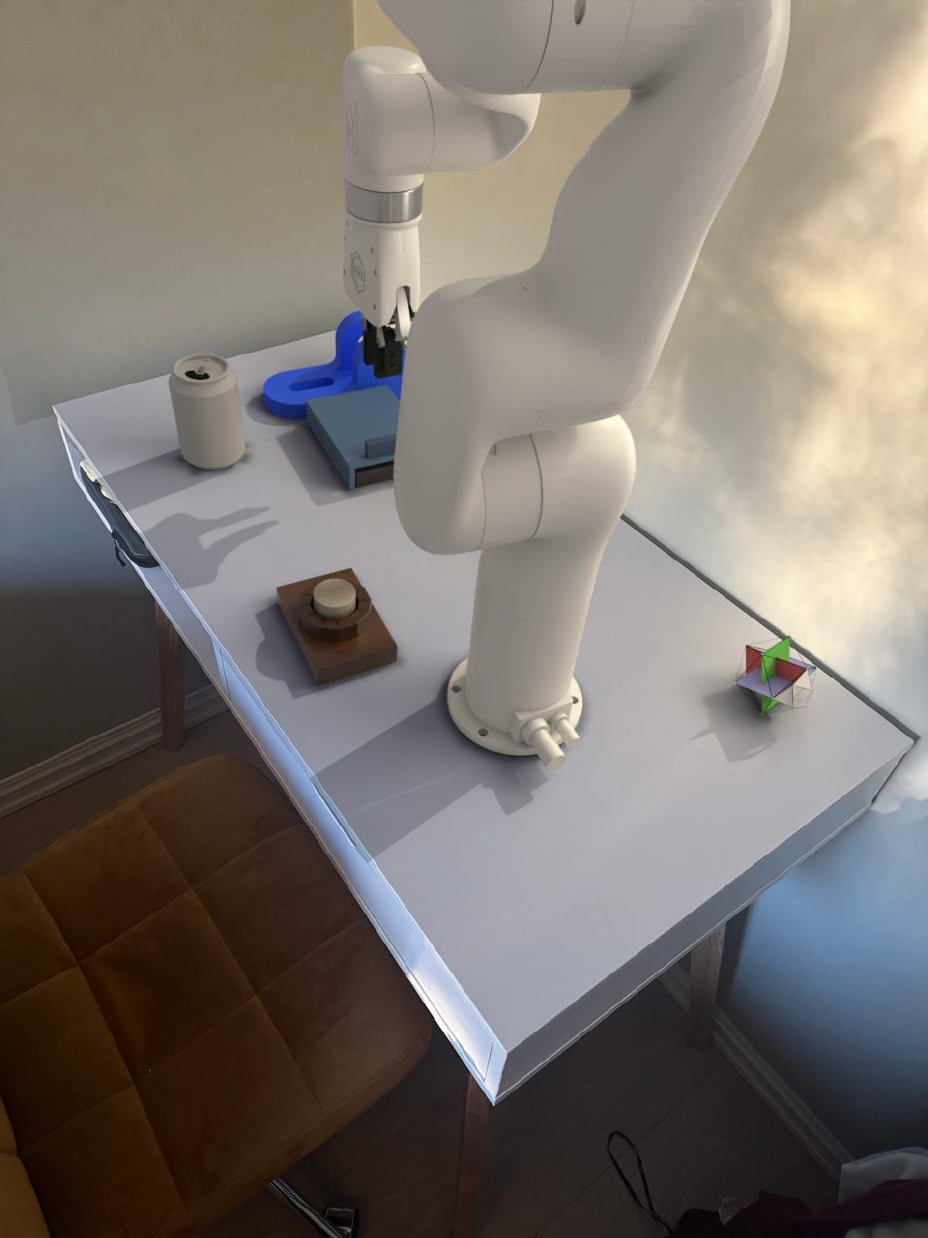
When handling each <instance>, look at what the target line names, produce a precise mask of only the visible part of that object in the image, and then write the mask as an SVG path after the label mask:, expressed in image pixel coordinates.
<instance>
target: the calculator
mask: <svg viewBox="0 0 928 1238" xmlns="http://www.w3.org/2000/svg"><path fill="white" fill-rule="evenodd" d="M393 477H394V460H393V461H389V462H384V463H380V464H375V465H371V466H366V467H362V468H357V469H355V488H361V487H364V486H370V485H374V484H378V483H381V482H386V481H391V480H393Z"/></svg>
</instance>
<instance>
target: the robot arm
mask: <svg viewBox="0 0 928 1238" xmlns="http://www.w3.org/2000/svg"><path fill="white" fill-rule="evenodd" d="M791 1H792V0H376V2H377V4H378V5H379V7H380V9H381V10H382V12H383V13H384V14H385V16H386V18H388V19H389V20H390V21H391V23H392V24H393V26H395V28H396V29H397V30H398V31H399V32H400V33H401V34H402V35H403V36H404V37H405V38H406V39H407V40H408V41H409V42H410V43H411V44H412V45H413V46H414V47H415V48H416V49H417V52H418V54H416V53H414V52H413V51H411V50H408V49H405V48H401V47H397V46H391V45H390V46H389V45H367V46H363V47H359V48H356V49H354V50H352V51H351V52H349V53H348V54H347V55H346V57H345V59H344V62H343V66H342V109H343V110H342V115H343V116H342V118H343V119H342V120H343V167H344V170H343V171H344V173H343V174H344V212H345V221H344V222H345V223H344V236H343V237H344V239H343V270H342V271H343V274H342V275H343V281H342V282H343V289H344V292H345V293H346V295H347V297H348V298H349V299H350V301H351V302H352V303H353V305H354V306H355V308H357V309H358V311H360V312H361V313H362V326H363V328H364V329H367V330H363V336H362V340H363V362H364V363H365V365H373V364H374V376H375V377H376V378H377V379H380V378H385V377H391V376H396V375H400V374H401V373H402V359H403V347H404V344H405V342H406V346H405V350H406V352H405V360H404V370H403V379H402V389H401V398H400V408H399V418H398V427H397V437H396V446H395V458H394V477H393V479H392V480H393V496H394V503H395V504H394V505H395V509H396V513H397V517H398V520H399V522H400V525H401V527H402V529H403V531H404V533H405V535H406V536H407V538H408V539H409V540H410V541H411V542H412V544H414V546H416V547H418V548H419V549H420V550H422V551H424V552H426V553H429V554H433V555H437V556H453V555H460V554H466V553H472V552H477V551H480V554H479V560H478V565H477V573H476V581H475V588H474V597H473V598H474V600H473V608H472V618H471V625H470V626H471V627H470V636H469V646H468V654H467V657H466V658H465V659H463V660H462V661H461V662H460V663H459V664H458V665H457V666H456V668H455V669H454V670H453V672H452V673H451V676H450V678H449V681H448V685H447V691H446V692H447V694H446V703H447V708H448V712H449V715H450V717H451V719H452V721H453V723H454V725H456V727H457V728H458V730H459V731H460V732H461V733H463V735H465V737H467V738H468V739H469V740H470V741H472V742H474V743H475V744H477V745H478V746H480V747H482V748H484V749H487V750H489V751H492V752H495V753H499V754H502V755H507V756H509V755H510V756H517V757H519V756H520V757H521V756H533V755H537V756H538V757H539V759H540V760H541V762H542V763H543V765H544V767H545V768H546V769H547V771H554V770H557V769H559V768H561V767H562V766H563V765H564V764H565V763H566V760H567V756H566V755H565V753H564V752H563V750H562V749H561V747H560V745H561V744H563V743H564V745H565V746H566V747H567V748H568V749H570V750H571V749H574V748H576V747H577V746H579V745H580V743H581V742H582V739H581V736H580V735H579V734H578V732H576V728H577V726H578V725H579V722H580V719H581V715H582V710H583V697H582V696H583V695H582V692H581V689H580V686H579V684H578V682H577V680H576V678H575V677H574V676H573V675H574V671H575V667H576V664H577V663H576V662H577V659H578V655H579V651H580V647H581V642H582V637H583V633H584V629H585V626H586V621H587V618H588V617H587V616H588V613H589V608H590V604H591V600H592V596H593V593H594V589H595V584H596V580H597V577H598V572H599V569H600V566H601V562H602V559H603V556H604V552H605V550H606V548H607V545H608V542H609V540H610V538H611V535H612V534H613V532H614V530H615V528H616V526H617V524H618V522H619V520H620V518H621V517H622V515H623V513H624V510H625V509H626V506H627V504H628V502H629V499H630V496H631V494H632V491H633V488H634V487H633V486H634V483H635V480H636V479H635V478H636V472H637V451H636V445H635V440H634V438H633V435H632V432H631V430H630V427H629V426H628V425H627V423H626V421H625V420H624V419H623V417H622V416H621V414H623V413H625V412H627V411H628V410H629V409H631V408H632V407H633V406H635V404H637V403H638V401H639V400H640V399H641V397H642V396H643V395H644V393H645V391H646V389H647V388H648V386H649V384H650V381H651V379H652V377H653V375H654V372H655V370H656V368H657V365H658V363H659V361H660V358H661V355H662V352H663V350H664V347H665V345H666V342H667V340H668V337H669V335H670V332H671V330H672V326H673V324H674V322H675V319H676V316H677V314H678V311H679V309H680V306H681V303H682V302H683V298H684V296H685V293H686V290H687V288H688V285H689V283H690V280H691V278H692V275H693V273H694V270H695V266H696V264H697V261H698V258H699V255H700V252H701V250H702V247H703V244H704V242H705V240H706V238H707V237H708V236H707V235H708V234H709V231H710V229H711V226H712V225H713V222H714V221H715V219H716V217H717V215H718V213H719V211H720V209H721V207H722V206H723V203H724V201H725V199H726V198H727V196H728V194H729V193H730V190H731V189H732V187H733V185H734V184H735V182H736V180H737V178H738V176H739V175H740V173H741V171H742V169H743V167H744V166H745V164H746V162H747V160H748V159H749V156H750V155H751V152H752V151H753V149H754V147H755V145H756V143H757V141H758V139H759V136H760V135H761V132H762V130H763V128H764V126H765V124H766V122H767V120H768V117H769V115H770V112H771V110H772V107H773V105H774V102H775V99H776V95H777V92H778V90H779V86H780V84H781V79H782V75H783V71H784V66H785V62H786V58H787V57H786V56H787V51H788V45H789V38H790V29H791V7H792V6H791V4H792V3H791ZM620 90H622V91H623V90H629V99H628V101H627V103H626V105H625V106H624V107H623V109H622V110H621V111H620V112H619V113H618V114H617V115H616V116H615V117H614V118H613V119H612V120H611V121H610V122H609V123H608V124H607V125H606V126H605V127H604V129H602V130H601V131H600V133H599V134H598V135H596V137H595V139H593V141H592V142H591V143H590V144H589V146H587V148H586V149H585V151H584V152H583V153H582V155H581V156H580V158H579V159H578V161H577V162H576V163H575V165H574V167H573V168H572V170H571V171H570V172H569V174H568V176H567V178H566V180H565V181H564V183H563V186H562V187H561V189H560V191H559V193H558V195H557V199H556V203H555V206H554V210H553V214H552V218H551V225H550V228H549V234H548V238H547V241H546V244H545V248H544V251H543V253H542V254H541V257H540V259H539V260H538V261H537V263H535V264H534V265H532V266H531V267H529V268H527V269H525V270H522V271H519V272H514V273H512V272H511V273H503V274H496V275H487V276H479V277H472V278H471V277H470V278H465V279H461V280H457V281H452V282H450V283H447V284H444V285H442V286H441V287H438V288H437V289H435V290H433V291H432V292H431V293H430V294H429V295H428V296H427V297H426V298H425V299H423V301H422V302H421V304H420V301H421V299H420V297H421V261H420V260H421V259H420V238H419V237H420V236H419V226H418V223H419V222H420V221H421V220H422V218H423V204H424V179H425V174H435V173H447V172H462V171H463V172H467V171H479V170H485V169H489V168H491V167H494V166H496V165H498V164H500V163H502V162H504V161H505V160H506V159H508V157H510V156H511V155H512V153H514V152H515V151H516V150H517V149H518V148H519V147H520V146H521V145H522V144H523V143H524V142H525V140H526V139H527V138H528V137H529V135H530V134H531V132H532V131H533V129H534V126H535V124H536V121H537V117H538V114H539V108H540V104H541V97H542V94H558V93H559V94H560V93H579V92H580V93H583V92H584V93H585V92H587V93H588V92H602V91H620ZM392 325H394V327H392ZM386 326H387V327H386Z"/></svg>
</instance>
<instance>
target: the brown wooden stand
mask: <svg viewBox="0 0 928 1238" xmlns="http://www.w3.org/2000/svg"><path fill="white" fill-rule="evenodd" d="M328 579H342V580H345V581H347V582H349V583H350V584H351V585H352V586H353V587H354V589H355V592H356V607H355V610H354V612H353V613H352V614H351V615H350V616H348V617H346V618H343V619H339V620H330V619H325V618H323V617H321V616H319V615H318V614H317V613H316V611H315V609H314V600H313V591H314V589H315V587H316V586H317V585H318V584H319V583H321V582H322V581H325V580H328ZM275 588H276V597H277V605H278V606H279V608H280V610H281V612H282V614H283V616H284V618H285V620H286V623H287V625H288V627H289V629H290V630H291V632H292V635H293V636H294V639H295V640H296V643H297V645H298V647H299V649H300V651H301V653H302V655H303V657H304V659H305V661H306V664H307V665H308V667H309V669H310V671H311V673H312V676H313V677H314V679H315V682H316V684H317V686H322V685H325V684H328V683H331V682H334V681H338V680H341V679H345V678H347V677H351V676H354V675H357V674H360V673H365V672H366V671H370V670H373V669H377V668H380V667H382V666H383V667H384V666H386V665H389V664H392V663H396V662H397V661H398V644H397V643H396V641H395V640H394V638H393V636H392V635H391V633H390V631H389V629H388V627H387V626H386V624H385V623H384V621H383V619H382V617H381V616H380V614H379V612H378V611H377V609H376V607H375V605H374V604H373V601H372V597H371V596H370V594H369V593H368V591H367V590H366V588H365V586H363V585H362V583H361V582H360V580H359V579H358V576H357V575H356V573H355V572H354V570H353V568H352V567H348V568H344V569H340V570H337V571H333V572H329V573H325V574H322V575H317V576H314V577H311V578H307V579H302V580H299V581H295V582H292V583H288V584H285V585H281V586H276V587H275Z"/></svg>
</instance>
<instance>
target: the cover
mask: <svg viewBox="0 0 928 1238" xmlns="http://www.w3.org/2000/svg"><path fill="white" fill-rule="evenodd" d="M399 408H400V400H399V399H398V398H397V396H396V395H395V394H394V392H393V391H392V390H391V389H390V387H389V386H388V385H383V386H377V387H372V388H367V389H362V390H357V391H351V392H346V393H341V394H336V395H331V396H325V397H320V398H315V399H310V400H306V415H307V418H306V424H307V426H309V428H310V430H311V431H312V433H313V434H314V437H316V439H317V441H318V443H319V444H320V445H321V447H322V448H323V450H324V452H325V453H326V455H327V456H328V458H329V460H330V461H331V462H332V465H333V466H334V467H335V469H336V470H337V472H338V473H339V475H340V477H341V478H342V480H343V481H344V483H345V484H346V486H347V488H348V490H353V489H355V488H356V486H355V469H357V468H362V467H366V466H371V465H375V464H380V463H384V462H389V461H393V460H394V458H395V446H396V437H397V427H398V418H399Z"/></svg>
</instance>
